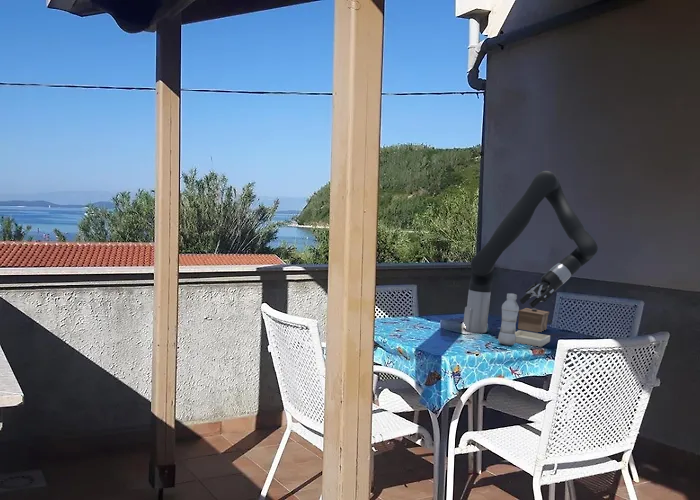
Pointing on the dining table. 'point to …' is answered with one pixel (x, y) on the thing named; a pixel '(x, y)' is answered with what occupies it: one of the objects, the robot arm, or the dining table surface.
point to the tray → (531, 338)
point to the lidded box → (533, 320)
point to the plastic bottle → (509, 320)
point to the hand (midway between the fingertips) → (525, 304)
